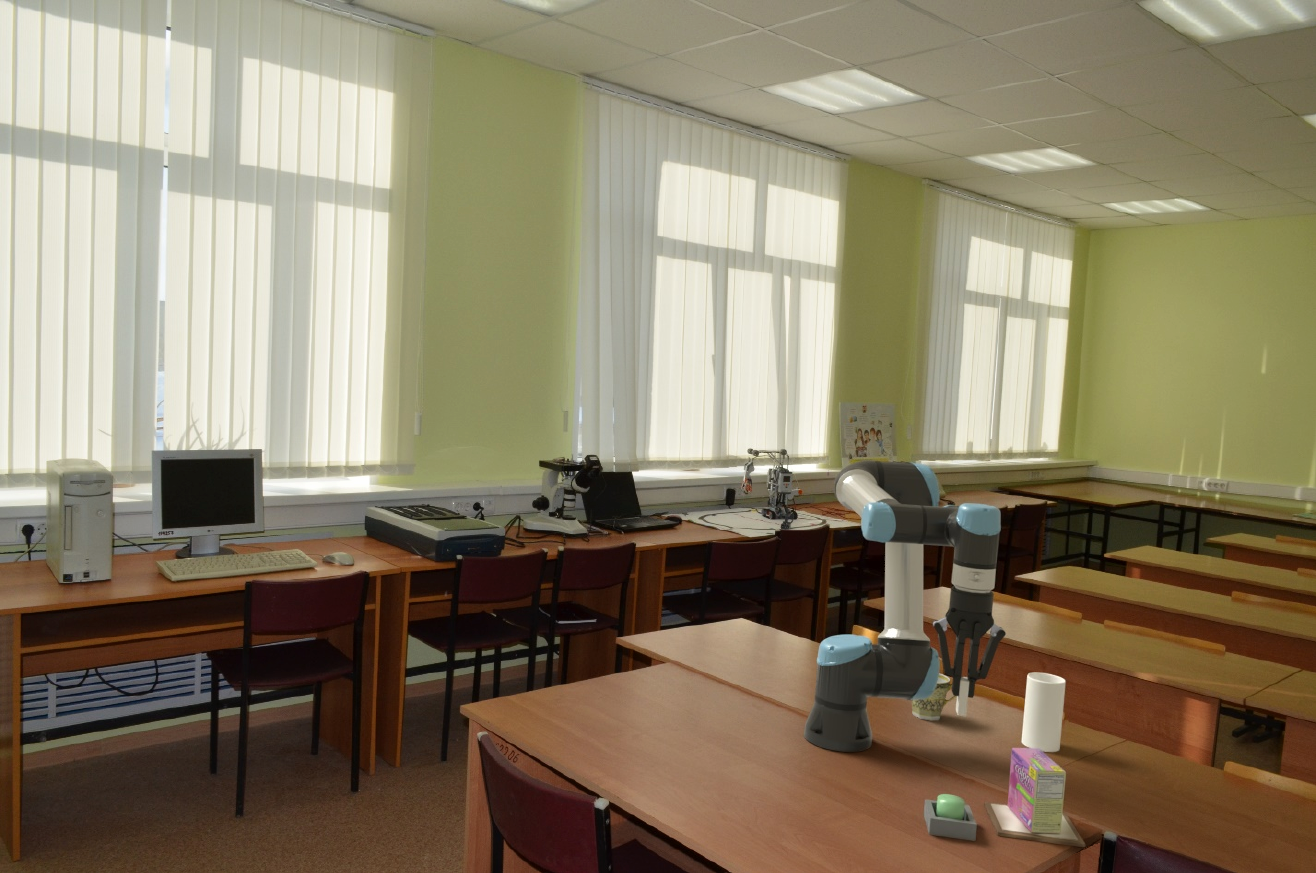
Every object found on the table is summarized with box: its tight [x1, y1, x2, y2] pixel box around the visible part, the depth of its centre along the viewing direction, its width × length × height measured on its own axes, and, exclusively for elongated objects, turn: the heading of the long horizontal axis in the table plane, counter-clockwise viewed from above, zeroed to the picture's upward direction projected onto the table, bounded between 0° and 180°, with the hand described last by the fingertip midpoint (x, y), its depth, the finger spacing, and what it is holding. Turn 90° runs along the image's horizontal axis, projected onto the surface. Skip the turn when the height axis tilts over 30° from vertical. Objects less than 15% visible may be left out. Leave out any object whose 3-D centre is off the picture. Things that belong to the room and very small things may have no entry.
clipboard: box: [984, 801, 1086, 848], centre depth 172 cm, size 15×13×1 cm
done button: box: [936, 793, 966, 820], centre depth 169 cm, size 5×5×4 cm
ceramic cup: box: [910, 672, 957, 721], centre depth 229 cm, size 13×10×10 cm
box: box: [1007, 747, 1067, 833], centre depth 172 cm, size 10×6×12 cm, turn 3°
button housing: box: [923, 799, 978, 842], centre depth 169 cm, size 8×8×3 cm
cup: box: [1021, 672, 1067, 753], centre depth 214 cm, size 8×8×16 cm
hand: (960, 713), depth 171 cm, fingers closed
